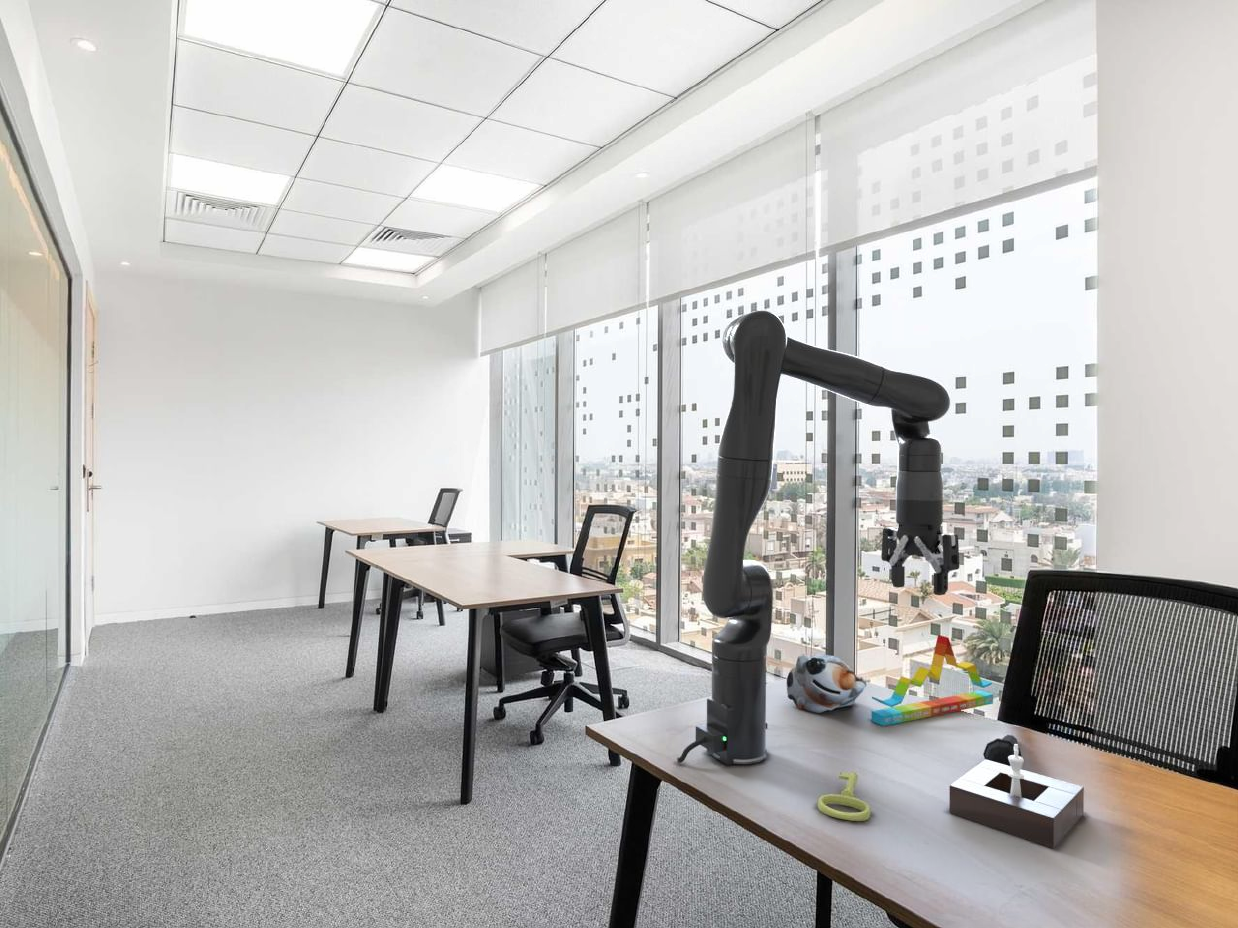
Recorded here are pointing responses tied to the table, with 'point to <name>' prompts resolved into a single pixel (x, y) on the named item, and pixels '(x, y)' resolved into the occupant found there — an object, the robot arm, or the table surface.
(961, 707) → the chart
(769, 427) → the robot arm
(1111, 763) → the table surface
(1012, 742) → the microphone
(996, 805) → the holder
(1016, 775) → the chess piece
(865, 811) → the key
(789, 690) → the lucky cat figurine
